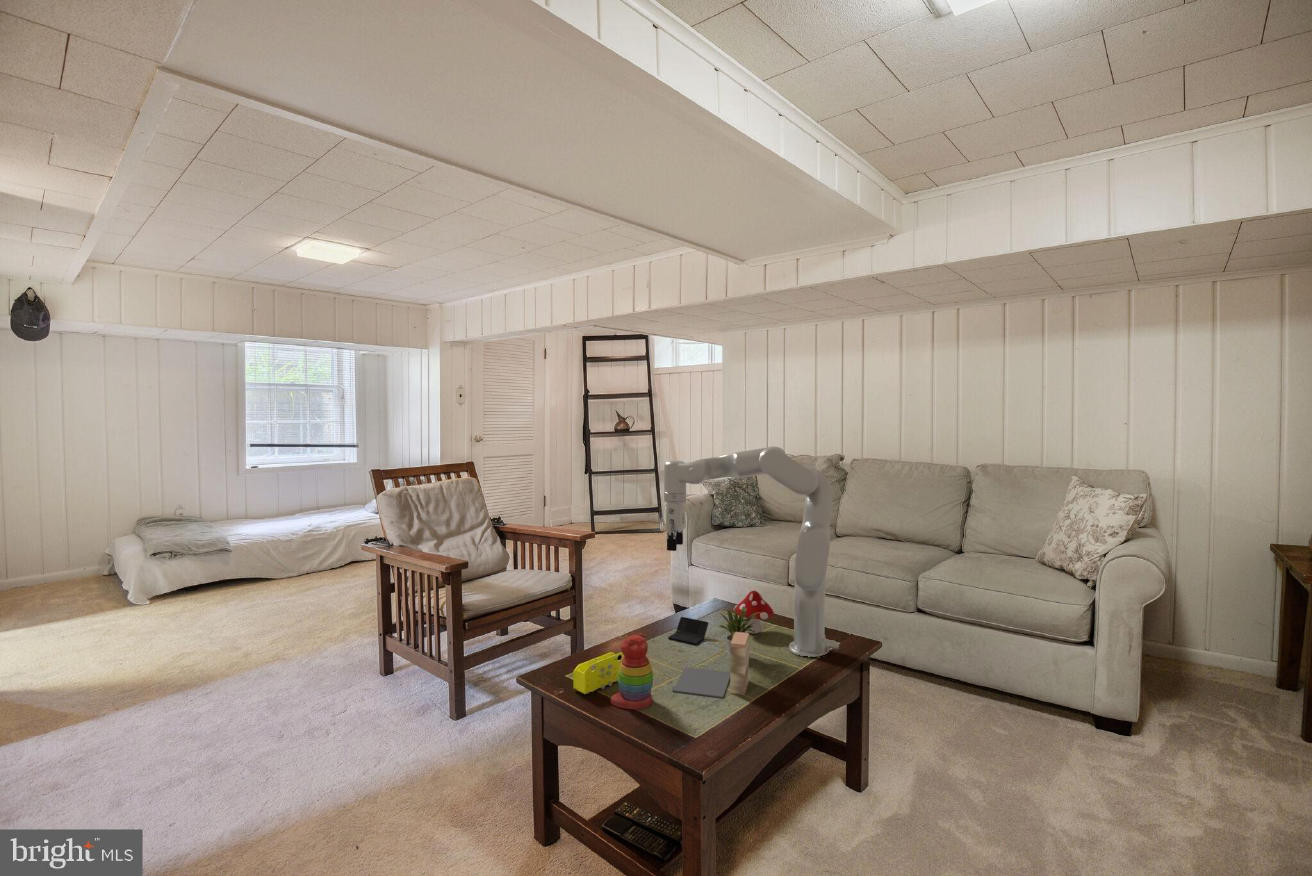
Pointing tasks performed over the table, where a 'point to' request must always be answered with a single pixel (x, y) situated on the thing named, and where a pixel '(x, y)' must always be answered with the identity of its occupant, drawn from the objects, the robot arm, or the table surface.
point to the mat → (702, 682)
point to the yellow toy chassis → (597, 672)
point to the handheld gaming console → (690, 631)
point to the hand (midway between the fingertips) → (675, 547)
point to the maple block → (739, 663)
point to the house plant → (736, 625)
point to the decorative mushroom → (754, 610)
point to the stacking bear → (634, 675)
